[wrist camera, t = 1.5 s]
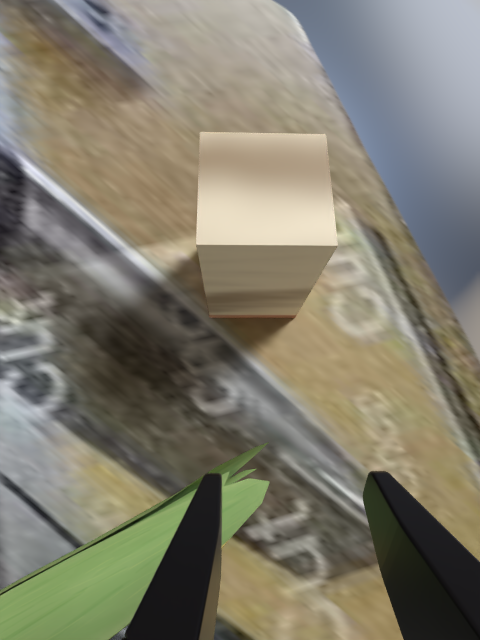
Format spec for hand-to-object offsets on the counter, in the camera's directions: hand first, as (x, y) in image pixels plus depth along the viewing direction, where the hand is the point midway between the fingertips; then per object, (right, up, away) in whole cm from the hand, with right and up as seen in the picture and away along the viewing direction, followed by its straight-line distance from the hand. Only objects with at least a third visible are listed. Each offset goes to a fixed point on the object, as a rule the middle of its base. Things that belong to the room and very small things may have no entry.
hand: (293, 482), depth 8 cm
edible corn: (-8, -10, +11) cm, 17 cm away
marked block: (0, +7, +17) cm, 18 cm away
